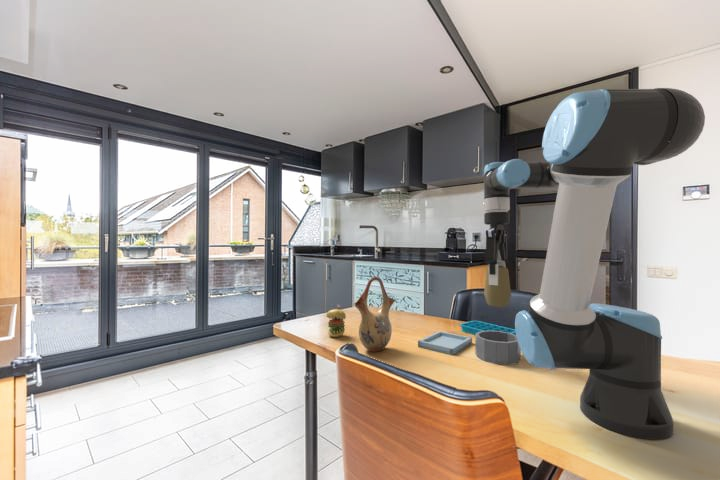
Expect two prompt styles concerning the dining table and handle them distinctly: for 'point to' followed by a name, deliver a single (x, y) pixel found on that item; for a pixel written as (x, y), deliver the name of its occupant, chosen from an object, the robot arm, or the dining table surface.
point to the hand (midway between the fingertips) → (497, 283)
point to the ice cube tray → (483, 327)
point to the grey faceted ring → (497, 347)
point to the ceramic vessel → (374, 320)
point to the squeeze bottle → (502, 292)
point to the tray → (445, 342)
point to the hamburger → (336, 322)
